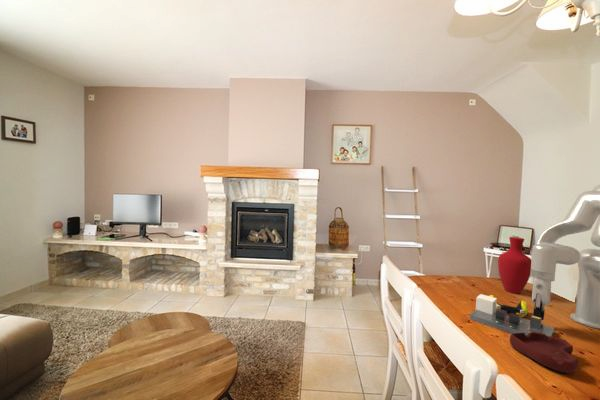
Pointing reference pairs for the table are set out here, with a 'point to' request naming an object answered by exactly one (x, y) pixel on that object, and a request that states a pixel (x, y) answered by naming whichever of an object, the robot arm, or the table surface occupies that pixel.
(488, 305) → the chalk-white cube
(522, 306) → the gaming controller
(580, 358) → the table surface
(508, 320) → the panel
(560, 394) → the table surface
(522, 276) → the vase
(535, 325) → the toggle
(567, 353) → the ashtray
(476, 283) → the table surface
